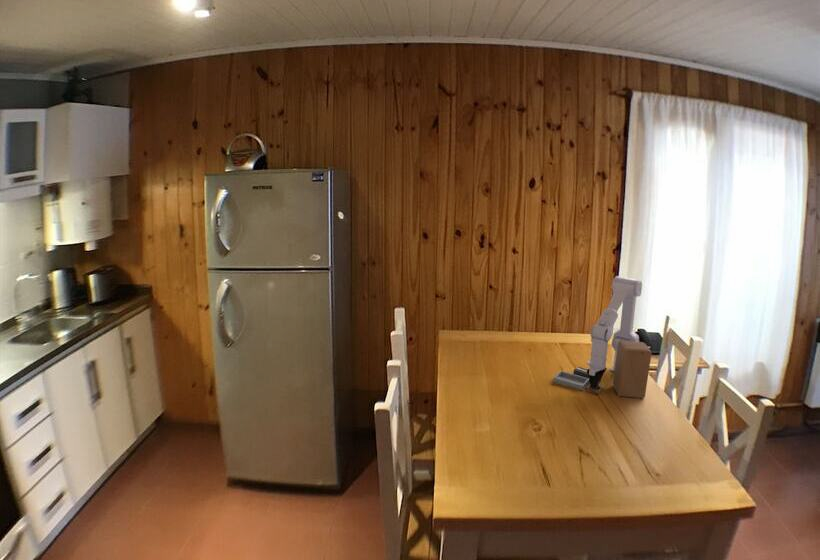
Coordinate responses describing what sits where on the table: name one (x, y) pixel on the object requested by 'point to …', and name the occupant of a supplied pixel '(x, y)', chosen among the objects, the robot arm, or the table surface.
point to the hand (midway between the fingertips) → (594, 385)
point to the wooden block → (631, 369)
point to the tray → (571, 380)
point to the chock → (581, 372)
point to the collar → (594, 389)
